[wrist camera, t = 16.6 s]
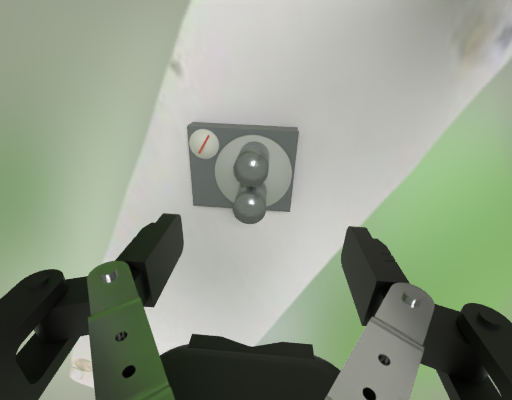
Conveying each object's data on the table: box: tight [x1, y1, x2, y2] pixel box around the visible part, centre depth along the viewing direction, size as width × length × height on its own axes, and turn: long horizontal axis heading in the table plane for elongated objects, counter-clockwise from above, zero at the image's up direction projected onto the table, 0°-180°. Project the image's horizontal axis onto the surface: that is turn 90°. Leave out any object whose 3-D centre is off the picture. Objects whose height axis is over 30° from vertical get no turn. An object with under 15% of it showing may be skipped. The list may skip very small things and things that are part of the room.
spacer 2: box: [233, 183, 267, 224], centre depth 38 cm, size 4×4×6 cm
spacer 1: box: [233, 141, 269, 187], centre depth 35 cm, size 4×4×6 cm
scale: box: [187, 122, 299, 212], centre depth 41 cm, size 16×13×4 cm
